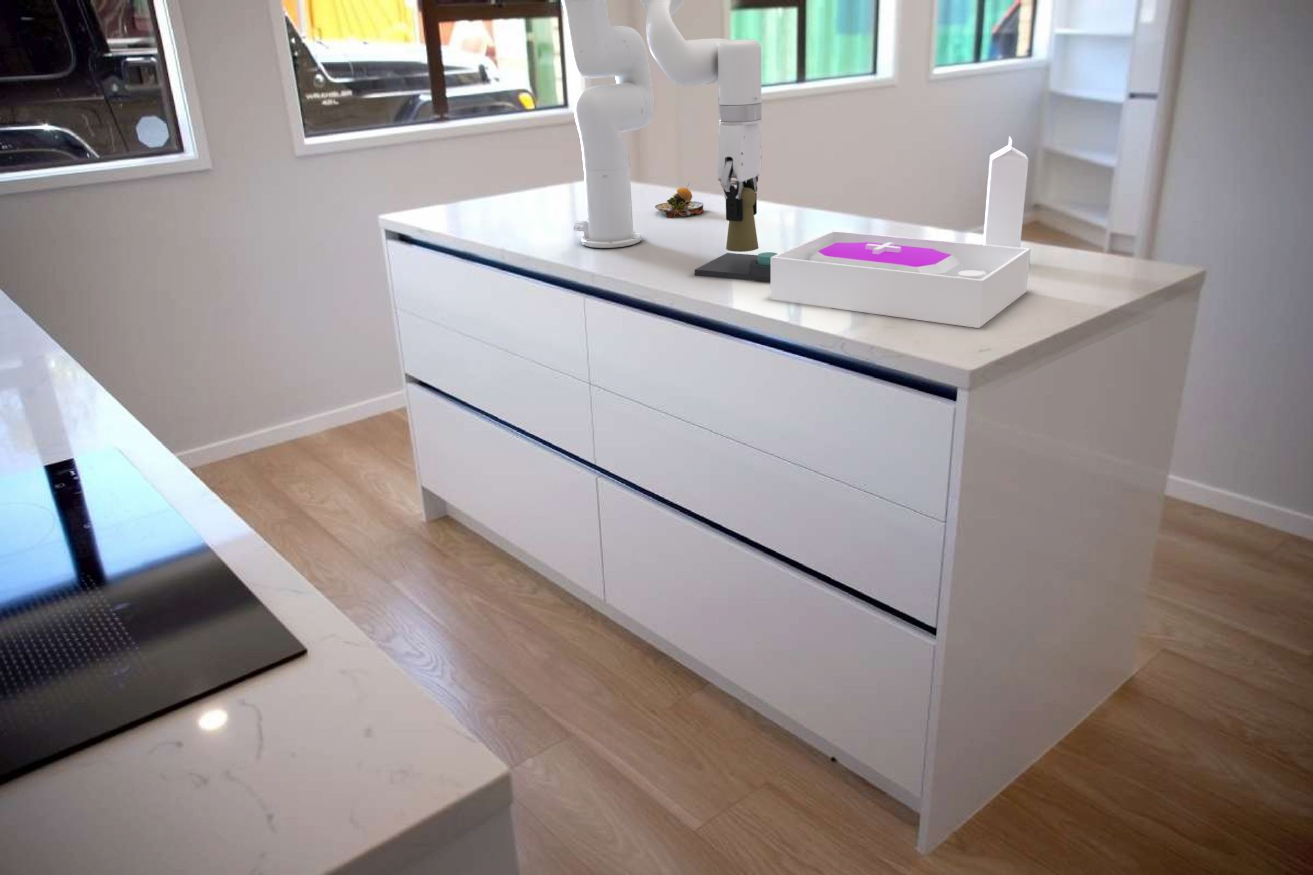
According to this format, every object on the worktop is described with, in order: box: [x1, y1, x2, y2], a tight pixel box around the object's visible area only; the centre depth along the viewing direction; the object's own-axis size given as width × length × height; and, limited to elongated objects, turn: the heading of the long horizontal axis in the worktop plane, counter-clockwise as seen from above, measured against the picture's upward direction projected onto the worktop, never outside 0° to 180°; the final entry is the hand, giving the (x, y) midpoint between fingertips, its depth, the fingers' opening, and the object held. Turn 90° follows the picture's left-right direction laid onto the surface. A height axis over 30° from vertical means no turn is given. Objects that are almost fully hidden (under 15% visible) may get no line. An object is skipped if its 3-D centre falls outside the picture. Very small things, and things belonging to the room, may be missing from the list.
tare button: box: [757, 251, 778, 265], centre depth 177 cm, size 4×4×2 cm
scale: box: [693, 252, 771, 283], centre depth 183 cm, size 17×15×3 cm
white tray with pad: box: [770, 230, 1032, 329], centre depth 162 cm, size 22×35×7 cm, turn 54°
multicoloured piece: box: [654, 181, 705, 218], centre depth 237 cm, size 12×12×8 cm
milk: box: [982, 135, 1030, 248], centre depth 175 cm, size 6×6×22 cm
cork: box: [725, 187, 759, 253], centre depth 183 cm, size 6×6×11 cm
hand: (741, 216), depth 183 cm, fingers closed on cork, 5 cm apart
